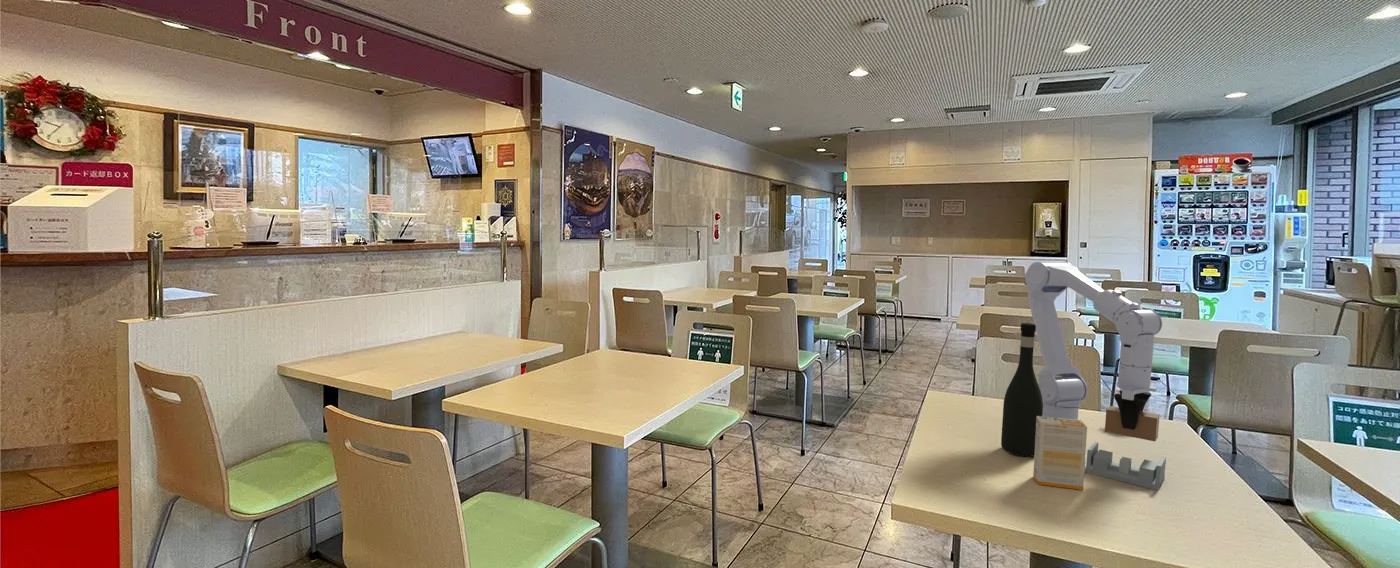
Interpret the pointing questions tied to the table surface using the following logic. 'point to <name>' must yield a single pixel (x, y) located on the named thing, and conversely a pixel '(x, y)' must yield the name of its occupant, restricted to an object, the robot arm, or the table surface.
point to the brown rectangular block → (1143, 429)
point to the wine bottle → (1022, 401)
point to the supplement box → (1060, 452)
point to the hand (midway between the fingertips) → (1130, 426)
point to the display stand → (1125, 468)
